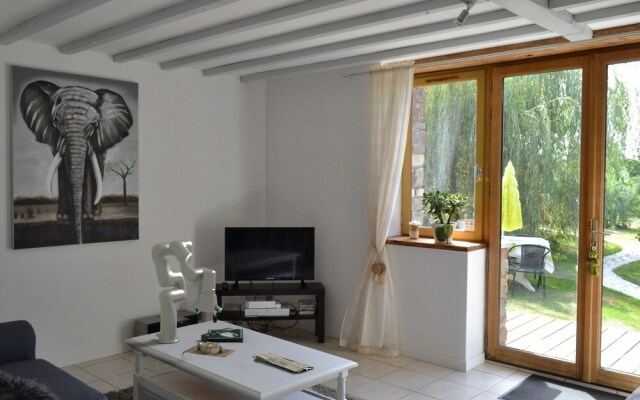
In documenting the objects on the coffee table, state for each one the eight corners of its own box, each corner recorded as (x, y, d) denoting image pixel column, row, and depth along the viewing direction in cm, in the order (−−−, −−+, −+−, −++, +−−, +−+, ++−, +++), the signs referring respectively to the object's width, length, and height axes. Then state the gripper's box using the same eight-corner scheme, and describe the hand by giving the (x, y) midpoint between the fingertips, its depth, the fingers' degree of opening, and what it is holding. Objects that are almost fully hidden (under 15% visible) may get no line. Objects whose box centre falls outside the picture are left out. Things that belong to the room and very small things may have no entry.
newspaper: (313, 369, 305) (313, 363, 305) (297, 375, 296) (297, 368, 295) (267, 355, 328) (267, 349, 328) (251, 360, 319) (251, 353, 319)
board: (182, 354, 326) (183, 345, 326) (196, 347, 339) (196, 338, 339) (224, 360, 317) (224, 350, 317) (236, 352, 330) (236, 343, 330)
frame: (200, 352, 326) (201, 345, 326) (207, 348, 332) (207, 341, 332) (211, 353, 324) (212, 346, 323) (218, 350, 330) (218, 343, 330)
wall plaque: (190, 341, 354) (224, 350, 336) (190, 334, 354) (224, 343, 336) (225, 331, 378) (259, 339, 360) (225, 325, 378) (259, 333, 360)
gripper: (191, 291, 328) (190, 321, 329) (218, 294, 322) (217, 325, 323) (198, 288, 335) (197, 318, 336) (225, 292, 329) (224, 321, 330)
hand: (207, 321), depth 330 cm, fingers open, 9 cm apart
